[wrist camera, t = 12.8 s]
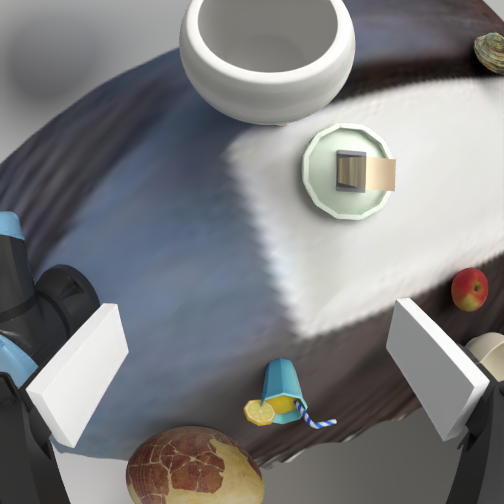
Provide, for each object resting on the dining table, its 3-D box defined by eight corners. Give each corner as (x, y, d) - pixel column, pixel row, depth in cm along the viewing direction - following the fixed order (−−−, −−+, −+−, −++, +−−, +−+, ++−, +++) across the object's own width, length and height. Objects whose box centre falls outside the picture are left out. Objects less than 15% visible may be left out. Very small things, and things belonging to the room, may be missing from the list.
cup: (324, 350, 49) (340, 409, 35) (320, 381, 51) (333, 439, 37) (246, 353, 50) (240, 414, 35) (248, 384, 52) (243, 444, 38)
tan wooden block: (337, 182, 40) (365, 189, 28) (338, 158, 39) (366, 156, 27) (360, 183, 40) (394, 191, 28) (360, 160, 39) (395, 159, 27)
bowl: (439, 347, 49) (461, 374, 39) (492, 304, 46) (518, 325, 36) (449, 386, 52) (466, 412, 42) (496, 349, 49) (517, 370, 39)
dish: (300, 215, 42) (302, 219, 40) (301, 121, 39) (303, 118, 36) (387, 219, 42) (393, 222, 39) (390, 130, 38) (397, 128, 35)
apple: (476, 262, 43) (500, 276, 36) (465, 300, 46) (487, 318, 38) (449, 260, 43) (474, 275, 36) (438, 301, 46) (460, 320, 38)
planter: (189, 84, 37) (125, 22, 16) (272, 25, 34) (276, -68, 13) (259, 161, 41) (253, 155, 19) (342, 98, 37) (410, 45, 16)
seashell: (500, 97, 33) (533, 91, 24) (462, 58, 32) (494, 45, 23) (507, 63, 30) (536, 55, 21) (471, 27, 29) (498, 12, 20)
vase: (185, 465, 63) (165, 552, 34) (126, 404, 56) (77, 503, 27) (282, 452, 59) (284, 555, 30) (235, 383, 52) (216, 523, 23)
